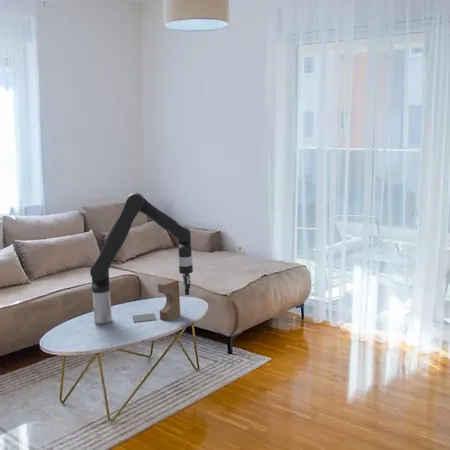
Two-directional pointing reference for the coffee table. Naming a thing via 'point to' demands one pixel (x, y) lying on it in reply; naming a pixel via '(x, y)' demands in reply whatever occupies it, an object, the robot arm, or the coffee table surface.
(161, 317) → the decorative block
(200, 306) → the coffee table surface
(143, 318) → the mat
